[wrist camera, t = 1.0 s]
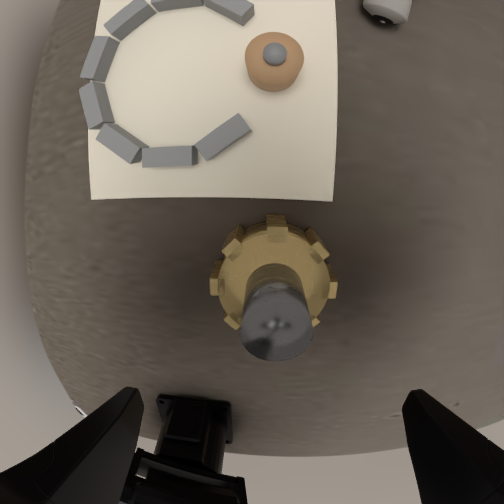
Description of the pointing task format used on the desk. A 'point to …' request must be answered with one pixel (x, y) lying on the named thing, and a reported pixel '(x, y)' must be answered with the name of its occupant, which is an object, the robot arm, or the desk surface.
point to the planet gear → (273, 286)
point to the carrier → (212, 99)
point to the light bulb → (389, 10)
